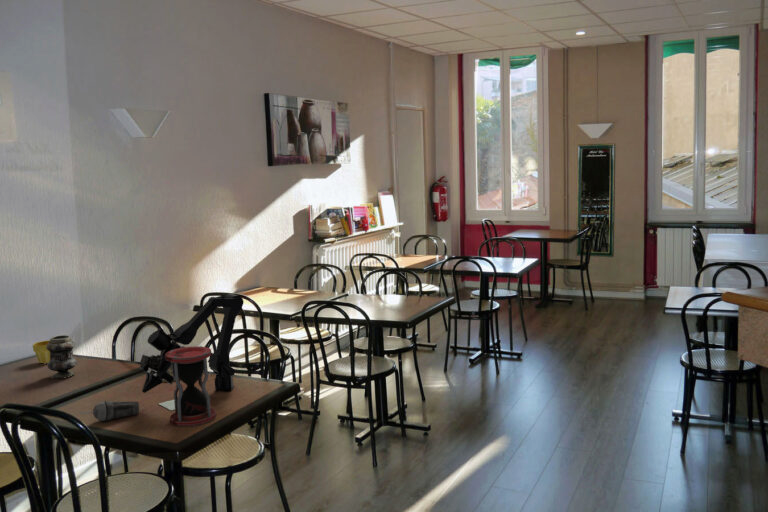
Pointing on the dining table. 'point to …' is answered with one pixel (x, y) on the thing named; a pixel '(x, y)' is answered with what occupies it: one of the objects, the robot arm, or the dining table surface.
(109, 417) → the beverage cup
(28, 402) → the dining table surface
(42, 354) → the plant pot
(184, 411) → the hourglass
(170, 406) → the mat
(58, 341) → the apothecary jar
